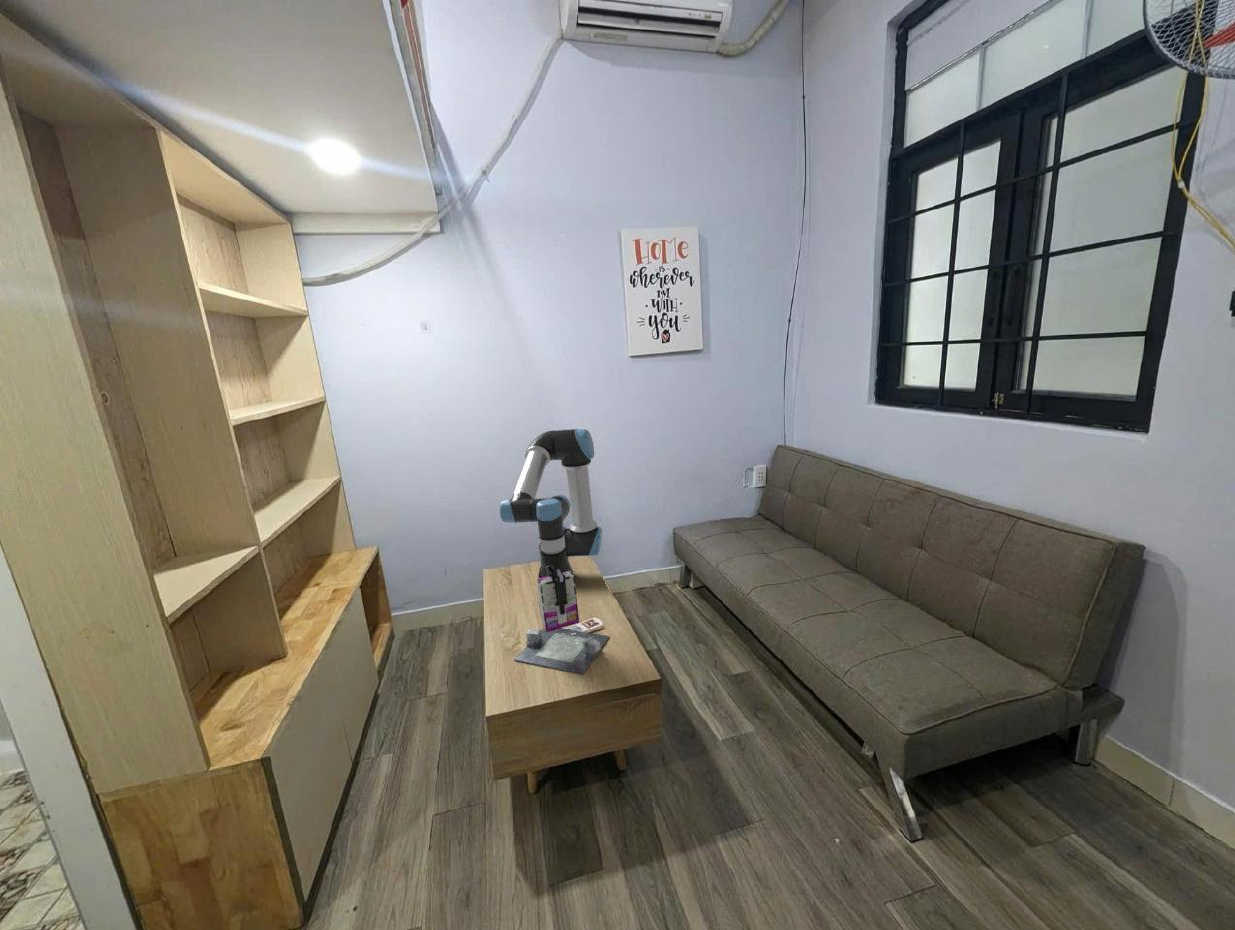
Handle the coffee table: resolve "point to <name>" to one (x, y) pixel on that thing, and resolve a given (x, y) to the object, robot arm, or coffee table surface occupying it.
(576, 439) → the robot arm
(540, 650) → the base
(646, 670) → the coffee table surface
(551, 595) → the candy bar box
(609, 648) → the coffee table surface
